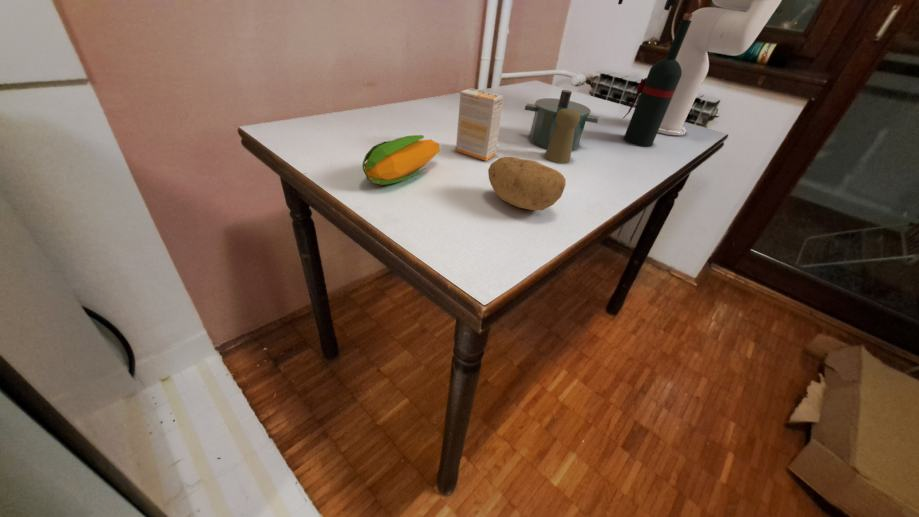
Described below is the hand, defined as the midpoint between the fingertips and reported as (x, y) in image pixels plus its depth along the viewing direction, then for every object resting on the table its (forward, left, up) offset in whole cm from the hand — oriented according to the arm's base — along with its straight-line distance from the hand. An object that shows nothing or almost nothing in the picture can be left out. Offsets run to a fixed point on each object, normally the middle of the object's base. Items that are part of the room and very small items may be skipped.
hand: (642, 7), depth 78 cm
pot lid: (+5, -11, -22) cm, 25 cm away
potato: (+43, -13, -31) cm, 54 cm away
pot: (+5, -11, -30) cm, 33 cm away
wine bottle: (-10, +10, -31) cm, 34 cm away
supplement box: (+24, -27, -31) cm, 47 cm away
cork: (+16, -9, -31) cm, 36 cm away
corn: (+42, -36, -31) cm, 63 cm away
